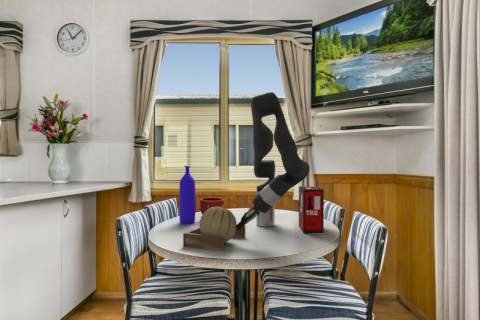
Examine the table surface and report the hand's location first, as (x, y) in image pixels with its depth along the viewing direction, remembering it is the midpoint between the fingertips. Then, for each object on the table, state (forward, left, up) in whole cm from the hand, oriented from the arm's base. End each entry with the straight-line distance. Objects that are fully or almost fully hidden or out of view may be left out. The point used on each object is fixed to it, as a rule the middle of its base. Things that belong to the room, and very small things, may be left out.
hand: (237, 227), depth 132 cm
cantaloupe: (+2, -7, -6) cm, 10 cm away
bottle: (-30, -41, -7) cm, 51 cm away
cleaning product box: (-38, +22, -7) cm, 44 cm away
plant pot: (-41, -32, -7) cm, 53 cm away
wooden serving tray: (0, -9, -6) cm, 11 cm away
